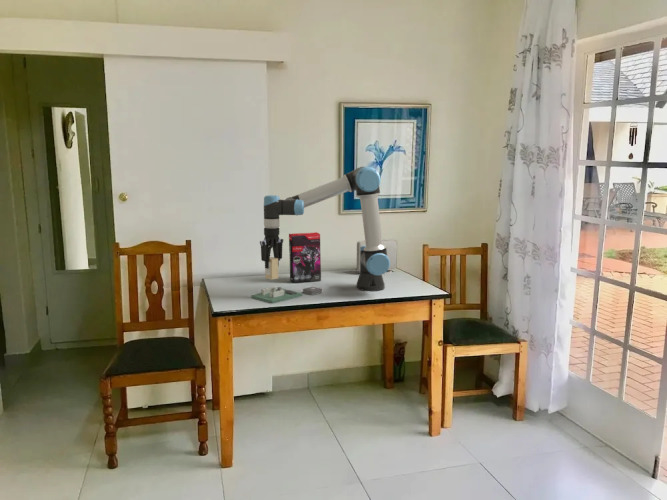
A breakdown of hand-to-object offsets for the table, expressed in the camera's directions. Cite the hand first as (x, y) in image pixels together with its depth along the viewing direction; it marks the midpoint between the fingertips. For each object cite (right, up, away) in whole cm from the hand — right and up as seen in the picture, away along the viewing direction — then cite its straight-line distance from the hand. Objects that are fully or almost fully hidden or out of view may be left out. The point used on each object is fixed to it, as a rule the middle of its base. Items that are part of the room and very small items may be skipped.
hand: (271, 273), depth 265 cm
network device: (+57, -2, +61) cm, 83 cm away
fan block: (+20, -10, +11) cm, 25 cm away
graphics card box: (+14, -6, +37) cm, 41 cm away
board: (+2, -12, +3) cm, 12 cm away
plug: (0, -2, 0) cm, 2 cm away
